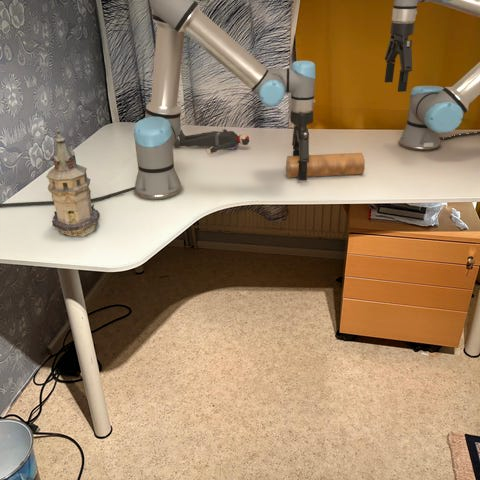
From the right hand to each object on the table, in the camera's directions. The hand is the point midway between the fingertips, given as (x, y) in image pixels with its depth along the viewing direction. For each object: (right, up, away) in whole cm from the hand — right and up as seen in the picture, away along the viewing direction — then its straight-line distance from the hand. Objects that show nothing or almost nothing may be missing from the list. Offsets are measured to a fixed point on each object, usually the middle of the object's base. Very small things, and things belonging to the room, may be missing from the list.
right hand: (394, 86), depth 188 cm
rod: (-25, -31, 0) cm, 40 cm away
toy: (-66, -16, +27) cm, 73 cm away
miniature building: (-102, -51, -33) cm, 118 cm away
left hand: (-34, -31, -1) cm, 46 cm away
